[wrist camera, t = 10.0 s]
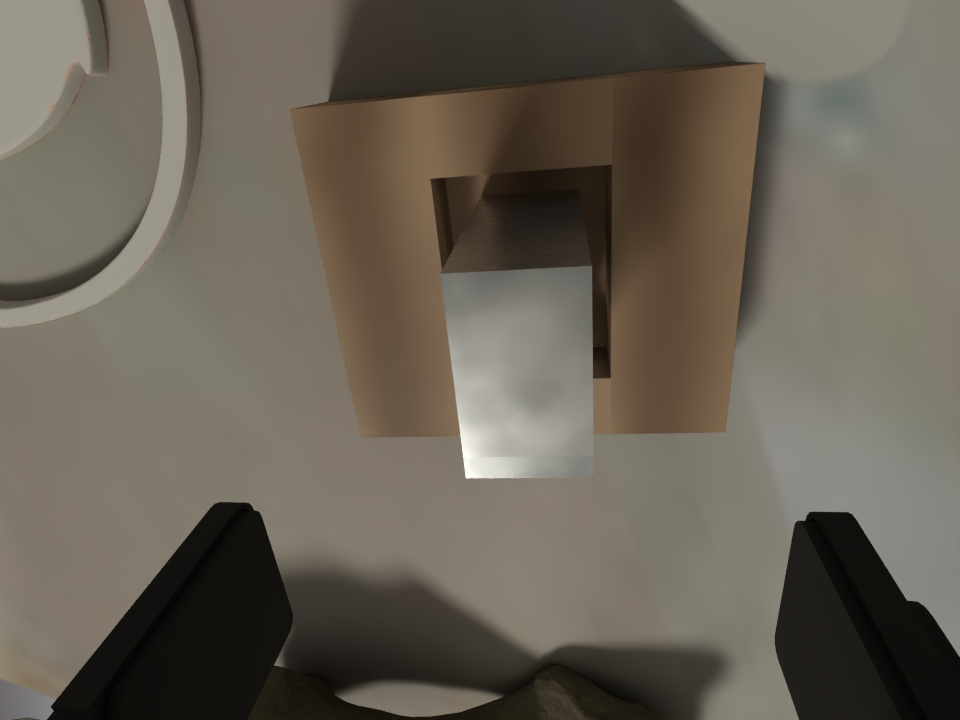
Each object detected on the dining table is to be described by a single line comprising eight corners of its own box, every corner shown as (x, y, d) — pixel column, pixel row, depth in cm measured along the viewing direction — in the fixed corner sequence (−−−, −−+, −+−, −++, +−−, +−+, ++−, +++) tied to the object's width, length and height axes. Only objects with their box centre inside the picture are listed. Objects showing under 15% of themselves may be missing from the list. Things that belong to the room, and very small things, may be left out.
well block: (732, 62, 22) (765, 63, 19) (704, 385, 29) (725, 432, 25) (327, 101, 25) (289, 109, 21) (383, 393, 31) (361, 437, 27)
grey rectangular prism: (578, 188, 24) (591, 265, 15) (581, 340, 27) (593, 477, 18) (481, 196, 25) (439, 273, 16) (494, 343, 28) (466, 478, 19)
